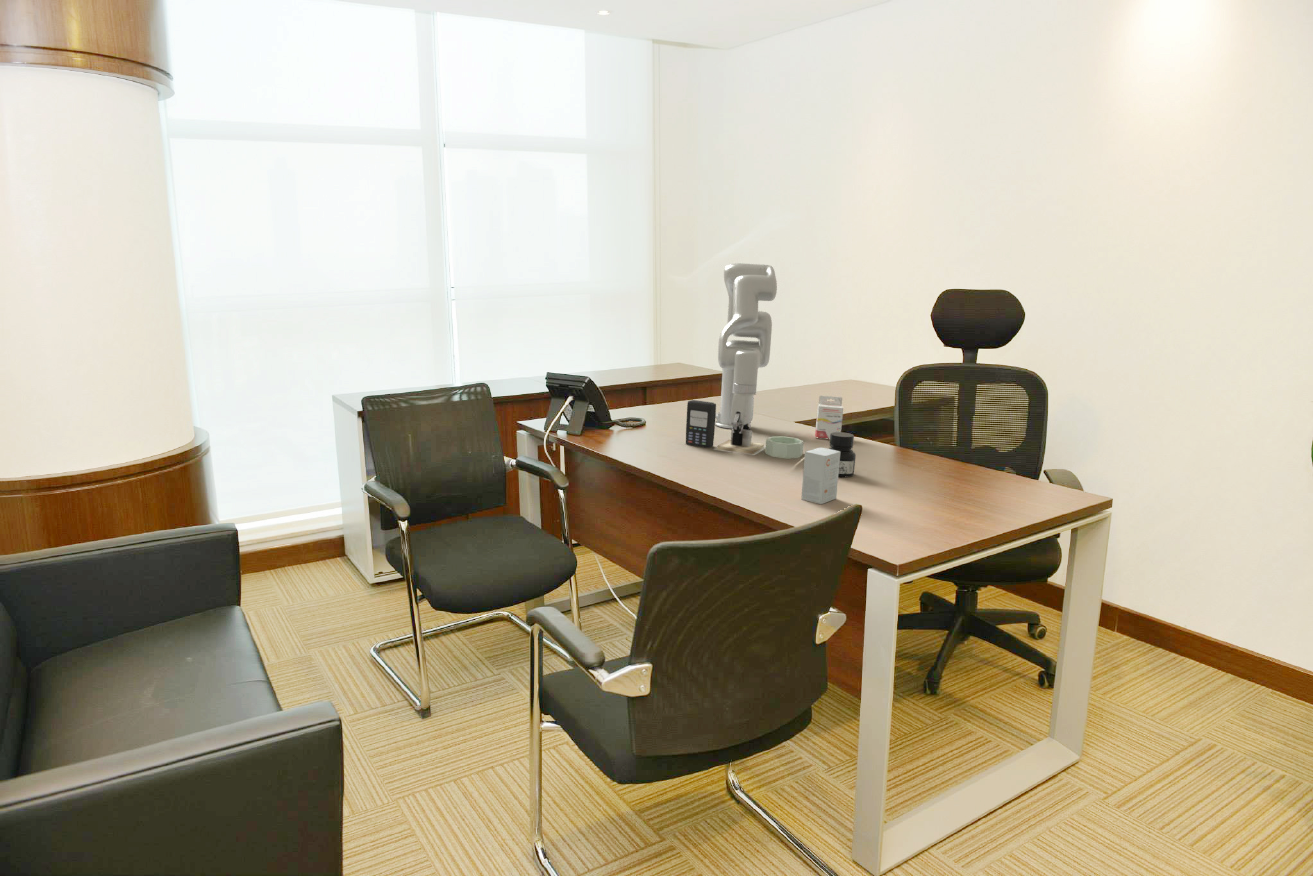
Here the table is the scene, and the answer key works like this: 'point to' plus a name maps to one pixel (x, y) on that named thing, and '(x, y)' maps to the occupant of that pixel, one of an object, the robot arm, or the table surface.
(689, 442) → the card reader
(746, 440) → the lid
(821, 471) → the small box
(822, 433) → the ink cartridge box
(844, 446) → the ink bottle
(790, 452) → the bowl
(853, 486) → the table surface
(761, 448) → the mat
